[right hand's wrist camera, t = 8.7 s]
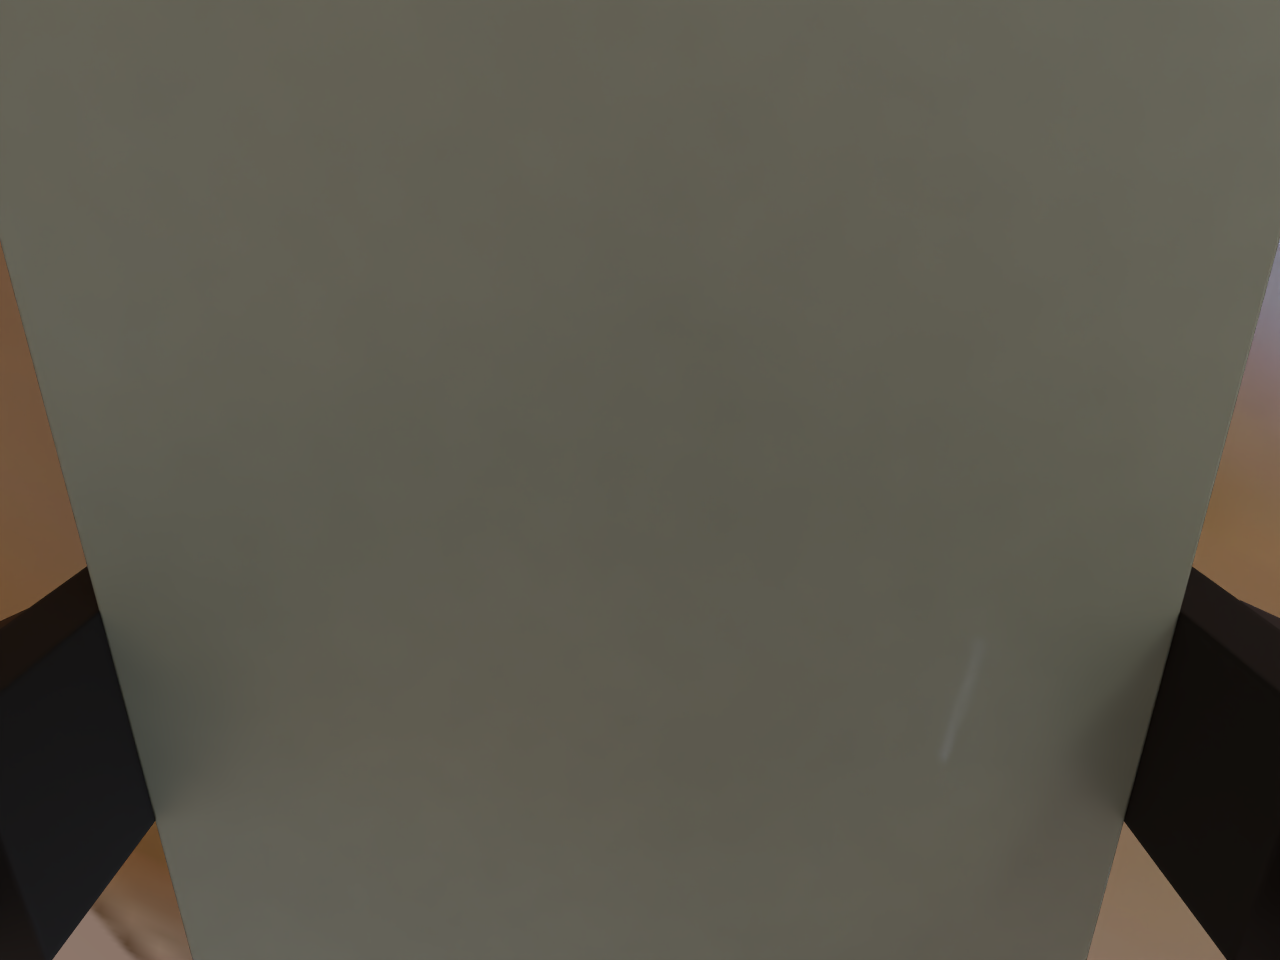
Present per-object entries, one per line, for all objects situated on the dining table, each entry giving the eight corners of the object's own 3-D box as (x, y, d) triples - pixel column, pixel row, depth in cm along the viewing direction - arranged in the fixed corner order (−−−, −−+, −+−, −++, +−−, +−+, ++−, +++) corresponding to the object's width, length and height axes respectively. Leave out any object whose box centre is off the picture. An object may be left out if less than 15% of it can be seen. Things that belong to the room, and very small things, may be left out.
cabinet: (309, -377, 13) (-555, -1812, 4) (972, -378, 13) (1833, -1816, 4) (416, 598, 20) (202, 1001, 10) (864, 598, 20) (1077, 1003, 10)
